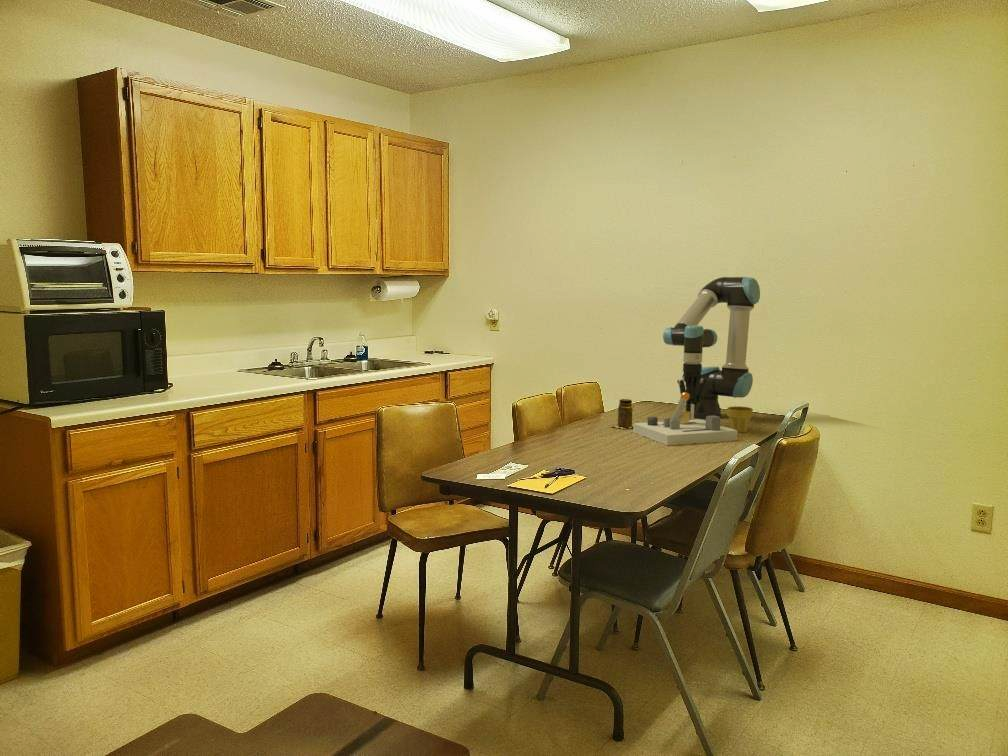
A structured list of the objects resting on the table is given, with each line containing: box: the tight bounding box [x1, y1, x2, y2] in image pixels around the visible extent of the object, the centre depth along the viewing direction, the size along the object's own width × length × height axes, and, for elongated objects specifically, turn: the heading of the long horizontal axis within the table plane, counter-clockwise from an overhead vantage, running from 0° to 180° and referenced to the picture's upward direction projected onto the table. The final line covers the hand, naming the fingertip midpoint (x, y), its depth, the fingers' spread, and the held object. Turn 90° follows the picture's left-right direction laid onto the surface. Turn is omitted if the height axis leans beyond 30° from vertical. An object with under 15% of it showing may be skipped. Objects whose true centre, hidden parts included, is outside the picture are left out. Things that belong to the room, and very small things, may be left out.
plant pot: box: [726, 406, 754, 433], centre depth 326 cm, size 10×10×10 cm
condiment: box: [617, 398, 634, 428], centre depth 331 cm, size 7×8×12 cm
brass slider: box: [678, 409, 690, 424], centre depth 320 cm, size 4×4×5 cm
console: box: [632, 416, 738, 446], centre depth 313 cm, size 32×26×8 cm
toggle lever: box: [669, 392, 690, 423], centre depth 311 cm, size 4×4×14 cm
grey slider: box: [705, 415, 722, 430], centre depth 308 cm, size 4×4×5 cm
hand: (690, 419), depth 322 cm, fingers closed
